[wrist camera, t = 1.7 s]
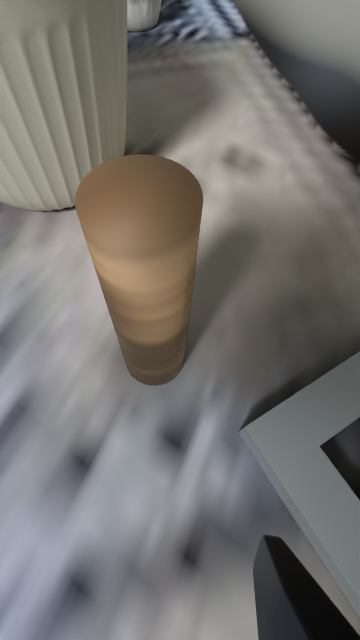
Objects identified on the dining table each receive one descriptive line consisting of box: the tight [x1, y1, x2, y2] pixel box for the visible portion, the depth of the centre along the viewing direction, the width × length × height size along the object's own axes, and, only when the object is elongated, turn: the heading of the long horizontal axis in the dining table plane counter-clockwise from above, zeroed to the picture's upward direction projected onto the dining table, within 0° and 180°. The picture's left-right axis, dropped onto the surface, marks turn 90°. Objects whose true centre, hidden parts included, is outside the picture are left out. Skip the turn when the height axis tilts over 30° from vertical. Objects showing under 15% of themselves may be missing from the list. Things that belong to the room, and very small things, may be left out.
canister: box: [0, 0, 127, 212], centre depth 22 cm, size 18×18×21 cm
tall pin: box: [75, 154, 203, 385], centre depth 17 cm, size 4×4×14 cm
